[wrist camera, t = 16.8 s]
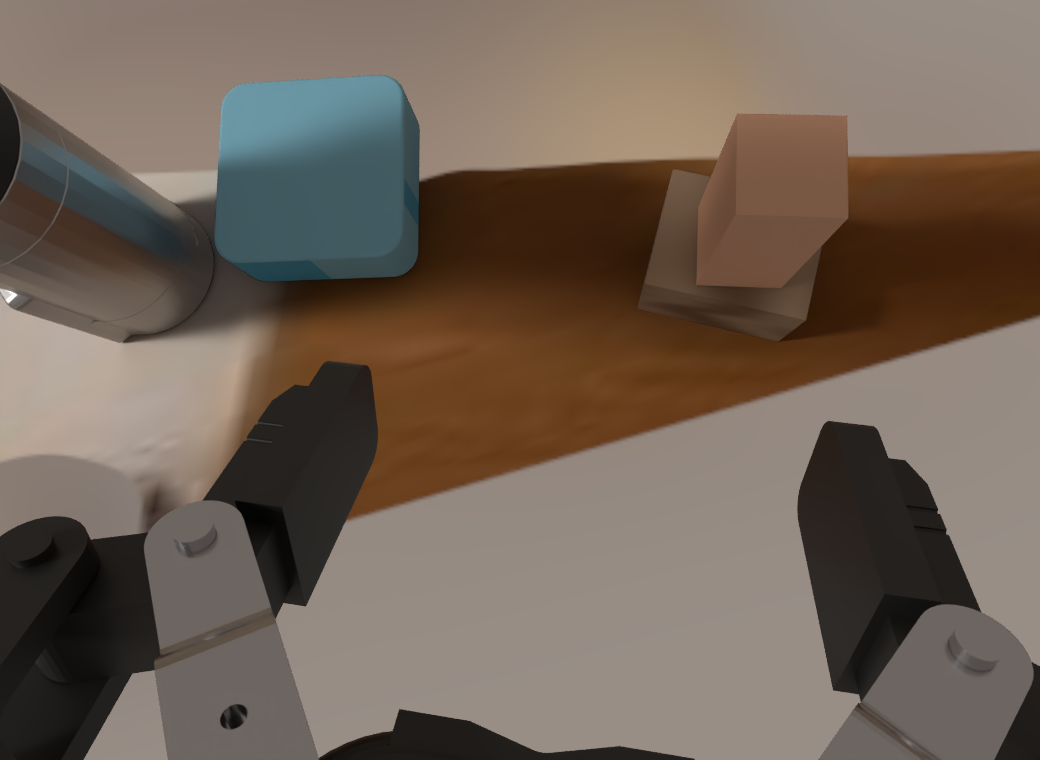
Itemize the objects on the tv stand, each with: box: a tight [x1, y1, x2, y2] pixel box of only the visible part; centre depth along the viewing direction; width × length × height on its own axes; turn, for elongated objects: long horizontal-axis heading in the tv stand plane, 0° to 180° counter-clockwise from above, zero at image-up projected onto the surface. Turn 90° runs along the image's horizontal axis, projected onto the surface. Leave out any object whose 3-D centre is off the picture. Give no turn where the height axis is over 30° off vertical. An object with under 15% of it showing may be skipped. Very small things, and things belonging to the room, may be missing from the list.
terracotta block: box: [696, 114, 848, 288], centre depth 36 cm, size 5×5×10 cm
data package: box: [214, 75, 420, 281], centre depth 47 cm, size 12×4×12 cm
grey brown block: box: [637, 169, 822, 342], centre depth 44 cm, size 9×7×6 cm
